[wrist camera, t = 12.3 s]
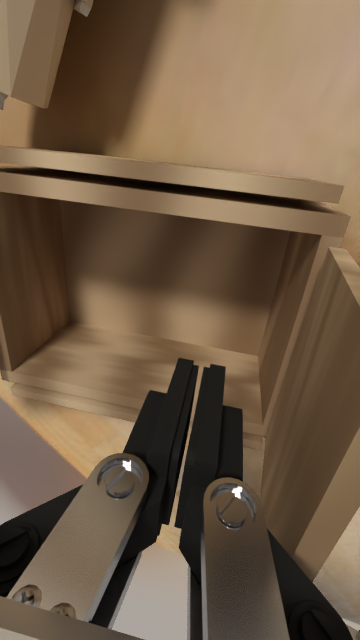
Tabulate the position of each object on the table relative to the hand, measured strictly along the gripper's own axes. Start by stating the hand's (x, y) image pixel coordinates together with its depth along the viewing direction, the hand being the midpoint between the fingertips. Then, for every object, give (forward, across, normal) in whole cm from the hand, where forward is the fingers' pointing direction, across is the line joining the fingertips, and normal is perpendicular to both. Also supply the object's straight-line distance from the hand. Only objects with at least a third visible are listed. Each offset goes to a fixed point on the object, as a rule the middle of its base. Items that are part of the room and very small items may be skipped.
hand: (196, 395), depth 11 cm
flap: (+4, -4, 0) cm, 6 cm away
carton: (+12, +4, 0) cm, 13 cm away
